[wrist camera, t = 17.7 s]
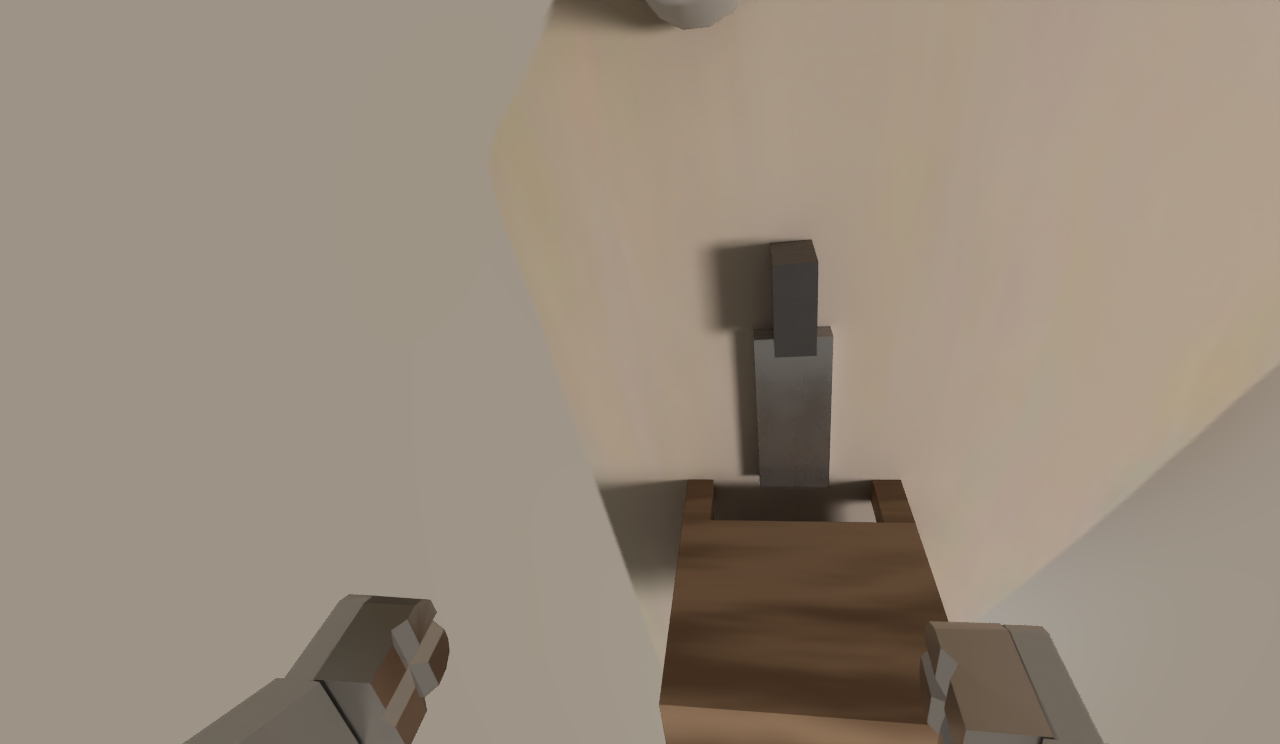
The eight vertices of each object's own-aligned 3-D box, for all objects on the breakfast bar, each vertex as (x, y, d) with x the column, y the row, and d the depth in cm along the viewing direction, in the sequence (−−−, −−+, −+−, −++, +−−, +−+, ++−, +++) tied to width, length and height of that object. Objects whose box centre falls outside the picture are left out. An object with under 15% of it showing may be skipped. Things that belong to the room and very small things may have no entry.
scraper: (750, 244, 38) (750, 266, 34) (832, 238, 37) (841, 260, 33) (759, 474, 47) (760, 509, 43) (826, 473, 46) (832, 510, 42)
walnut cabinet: (688, 479, 48) (659, 704, 32) (900, 480, 45) (984, 729, 29) (698, 577, 53) (678, 811, 38) (889, 584, 50) (954, 841, 34)
